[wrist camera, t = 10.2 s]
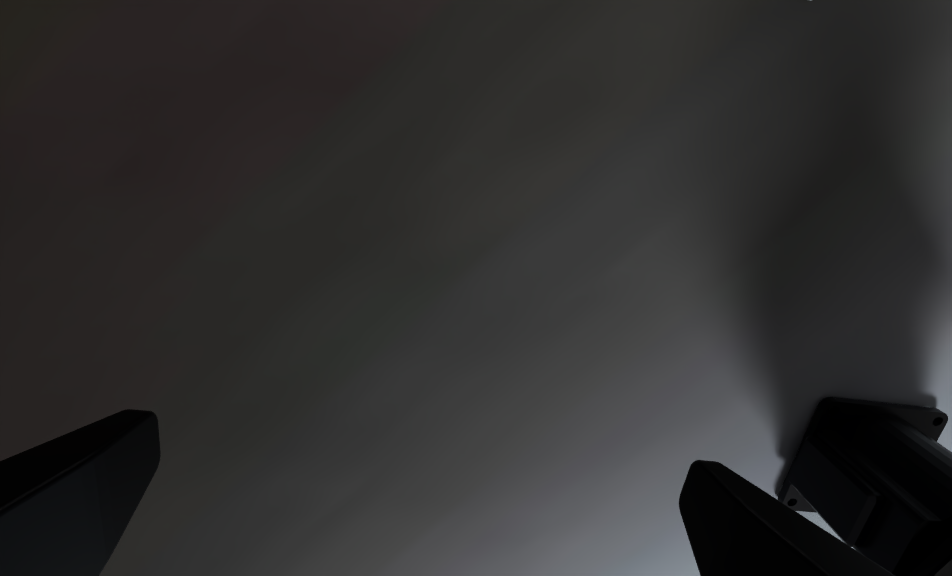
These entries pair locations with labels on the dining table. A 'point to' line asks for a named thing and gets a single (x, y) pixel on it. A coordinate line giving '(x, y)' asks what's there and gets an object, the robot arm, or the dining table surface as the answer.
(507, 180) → the dining table surface
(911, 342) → the dining table surface
